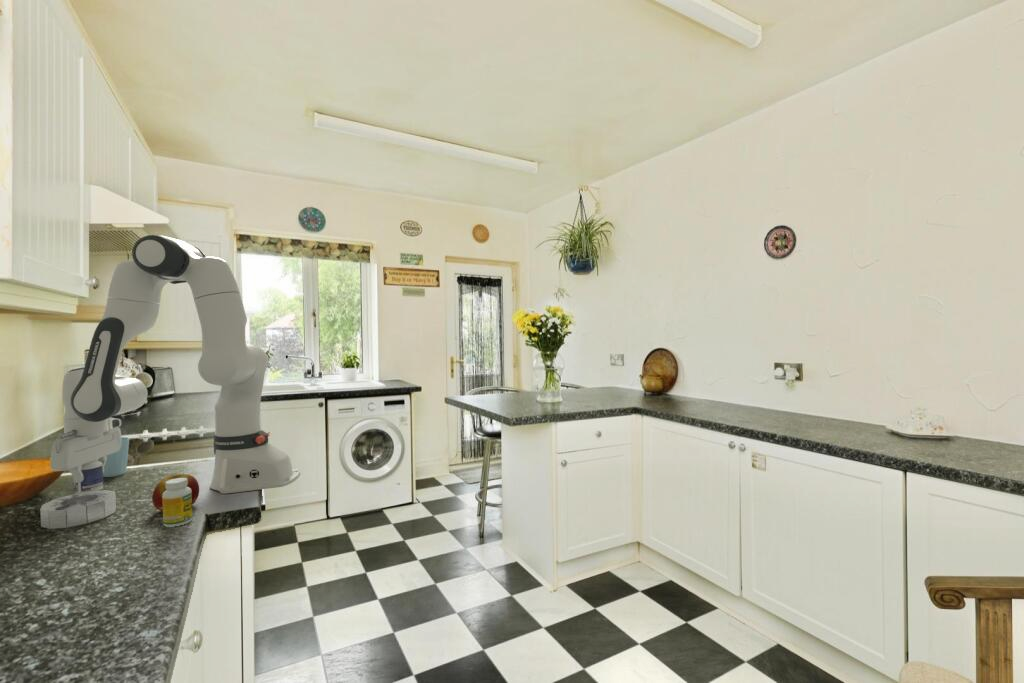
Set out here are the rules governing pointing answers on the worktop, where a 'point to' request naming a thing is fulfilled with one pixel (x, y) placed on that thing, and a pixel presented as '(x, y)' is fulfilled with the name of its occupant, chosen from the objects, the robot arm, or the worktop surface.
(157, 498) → the fruit
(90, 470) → the pill bottle
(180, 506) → the supplement bottle
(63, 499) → the disc
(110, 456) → the cup
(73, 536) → the worktop surface
